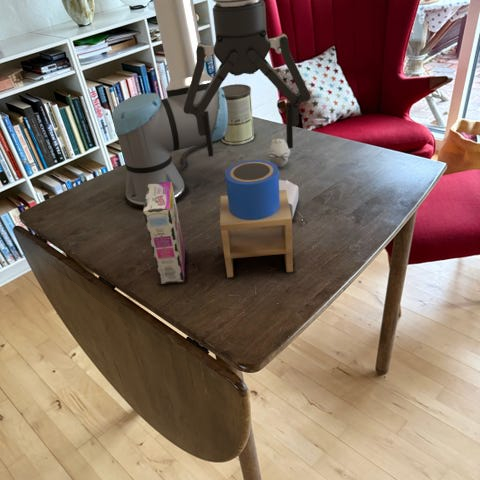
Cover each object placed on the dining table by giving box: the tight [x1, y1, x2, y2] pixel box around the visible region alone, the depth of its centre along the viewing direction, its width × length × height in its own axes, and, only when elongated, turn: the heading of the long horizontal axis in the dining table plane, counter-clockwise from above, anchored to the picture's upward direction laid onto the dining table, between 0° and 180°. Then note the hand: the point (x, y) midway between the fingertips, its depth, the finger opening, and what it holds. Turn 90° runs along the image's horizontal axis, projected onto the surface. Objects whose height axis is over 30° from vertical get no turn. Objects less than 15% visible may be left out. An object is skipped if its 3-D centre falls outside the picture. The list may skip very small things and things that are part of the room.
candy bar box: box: [142, 182, 186, 285], centre depth 90 cm, size 11×5×16 cm, turn 4°
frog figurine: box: [267, 138, 291, 168], centre depth 123 cm, size 6×7×7 cm
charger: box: [279, 179, 299, 220], centre depth 109 cm, size 5×9×15 cm
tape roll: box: [224, 159, 280, 220], centre depth 84 cm, size 10×10×7 cm
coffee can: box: [220, 83, 255, 146], centre depth 137 cm, size 10×10×14 cm
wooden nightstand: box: [219, 190, 294, 278], centre depth 91 cm, size 11×13×12 cm
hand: (250, 149), depth 79 cm, fingers open, 13 cm apart
